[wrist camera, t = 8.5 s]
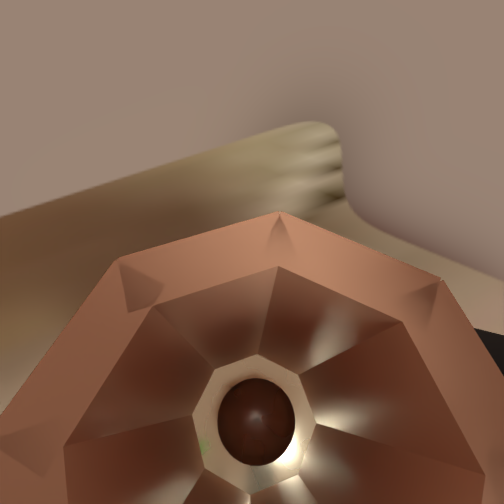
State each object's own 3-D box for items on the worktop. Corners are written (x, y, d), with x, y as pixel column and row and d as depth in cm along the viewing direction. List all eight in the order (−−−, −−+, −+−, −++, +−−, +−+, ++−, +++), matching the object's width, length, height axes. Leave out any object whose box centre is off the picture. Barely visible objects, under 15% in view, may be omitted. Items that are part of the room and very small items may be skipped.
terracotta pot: (355, 379, 14) (577, 334, 4) (297, 558, 11) (528, 1271, 2) (221, 312, 15) (180, 169, 6) (141, 462, 12) (-166, 642, 3)
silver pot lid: (381, 363, 16) (431, 351, 12) (310, 598, 12) (346, 706, 8) (212, 283, 18) (201, 245, 13) (107, 470, 14) (44, 503, 10)
